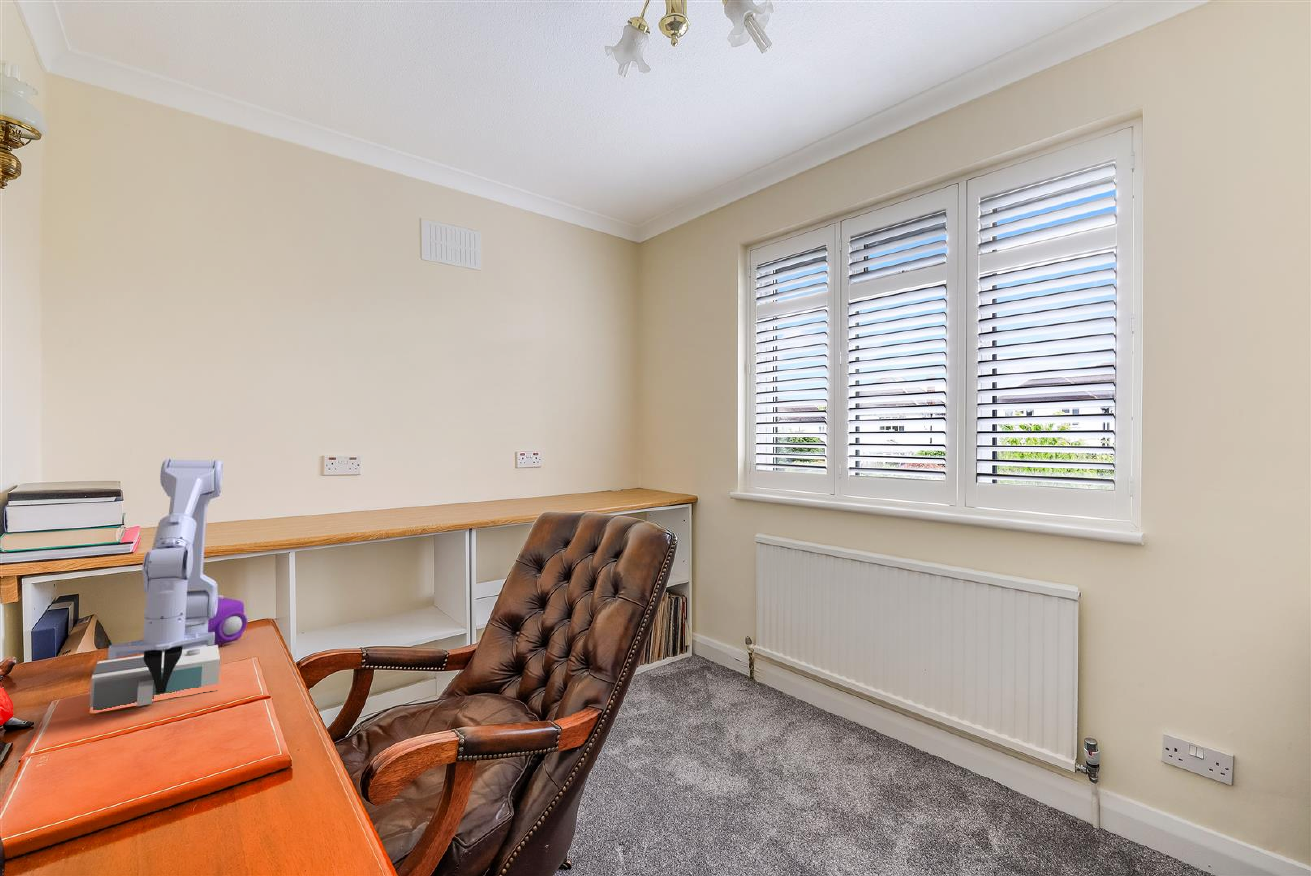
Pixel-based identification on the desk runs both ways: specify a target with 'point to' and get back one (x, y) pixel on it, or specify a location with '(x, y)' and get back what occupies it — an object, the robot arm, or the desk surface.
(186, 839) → the desk surface
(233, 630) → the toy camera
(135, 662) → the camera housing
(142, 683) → the side door
